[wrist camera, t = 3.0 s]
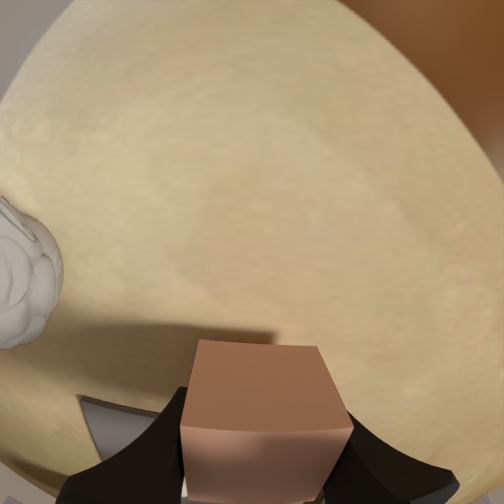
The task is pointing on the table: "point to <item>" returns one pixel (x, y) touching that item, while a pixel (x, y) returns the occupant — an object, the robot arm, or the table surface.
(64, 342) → the table surface
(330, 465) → the cube
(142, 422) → the tray
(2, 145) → the table surface
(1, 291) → the frog figurine
